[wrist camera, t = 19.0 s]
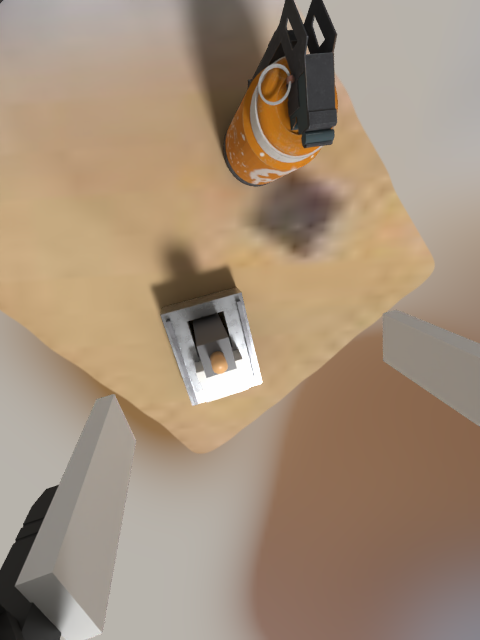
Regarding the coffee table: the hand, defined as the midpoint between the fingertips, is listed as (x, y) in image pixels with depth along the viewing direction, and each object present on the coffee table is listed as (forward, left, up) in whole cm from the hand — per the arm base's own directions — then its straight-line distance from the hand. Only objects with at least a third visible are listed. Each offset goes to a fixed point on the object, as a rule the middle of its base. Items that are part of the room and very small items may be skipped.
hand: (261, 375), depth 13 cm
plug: (+8, -2, -32) cm, 33 cm away
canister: (-16, +11, -32) cm, 37 cm away
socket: (+10, -2, -32) cm, 33 cm away
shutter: (+16, -2, -28) cm, 32 cm away
